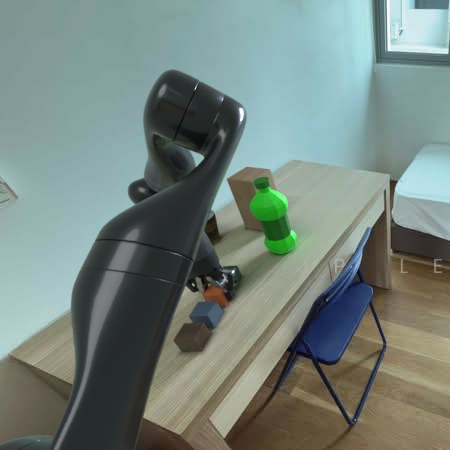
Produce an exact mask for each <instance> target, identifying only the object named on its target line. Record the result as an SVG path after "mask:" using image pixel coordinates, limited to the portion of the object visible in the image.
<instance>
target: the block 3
mask: <svg viewBox="0 0 450 450" xmlns="http://www.w3.org/2000/svg"><path fill="white" fill-rule="evenodd" d="M211 336H212V332H211V331H210V330H209V328H207V327H206V325H205V323H204V322H199V323H193V322H184V323H183V324H182V326H181V327H180V329H179V330H178V332H177V333H176V334H175V337H174V338H173V339H172V341H173V343H174V344H175V345H176V347H177V348H178V349H179V350H180V352H181V353H197V352H198V353H199V352H203V351H204V349H205V347H206V345H207V343H208V341H209V340H210V338H211Z"/></svg>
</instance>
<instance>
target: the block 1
mask: <svg viewBox="0 0 450 450" xmlns="http://www.w3.org/2000/svg"><path fill="white" fill-rule="evenodd" d="M208 285H209V287H208V288H207V290H206V291H205V293H204V295H203V294H202V296H203V298H204V301H217V303H218V304H219V306H220V308H224V307H228V305H229V304H230V302H228V300H227V299H226V297H225V295H224V292H223V291H222V290H221V289H220V288H216V287H215V286H214V285H213V284H208ZM224 286H226V285H225V284H224Z"/></svg>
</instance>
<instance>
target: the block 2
mask: <svg viewBox="0 0 450 450" xmlns="http://www.w3.org/2000/svg"><path fill="white" fill-rule="evenodd" d="M223 314H224V312H223V310H222V307H220V306H219V304H218V303H217V301H206V300H203V301H197V303H196V304H195V306H194V308H193V309H192V311H191V312H190V314H189V315H188V318H189V319H190V321H191V323H199V322H204V323H205V325H206V327H207V328H208V329H210V328H211V329H212V328H213V329H214V328H216V327H217V325H218V323H219V322H220V319H221V318H222V315H223Z"/></svg>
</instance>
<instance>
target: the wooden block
mask: <svg viewBox="0 0 450 450" xmlns="http://www.w3.org/2000/svg"><path fill="white" fill-rule="evenodd" d="M259 177H268V178H269V180H270V183H271V185H270V186H269V187H270V189H273V190H275V191H278V190H277V186H276V184H275V180H274V176H273V173H272V170H271V169H270V168H263V167H254V166H245V167H243V168H241V169H240V170H238V171H237V172H235V173H234V174H232V175H230V176H229V177H227V178H226V182H227V184H228V187H229V190H230V192H231V194H232V196H233V199H234V202H235V204H236V206H237V209H238V212H239V214H240V217H241V220H242V222H243V224H244V227H245V228H246V229H248V230H254V231H259V232H263V229H262V226H261V224H260V221H259V220H258V219H257V218H256V217H255V216H254V215H253V214H252V212H251V210H250V203H251V201H252V199H253V198H254V196H255V195H256V194H257V193H258V189H256V188H255V186H254V184H253V181H254V180H255V179H257V178H259Z"/></svg>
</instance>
